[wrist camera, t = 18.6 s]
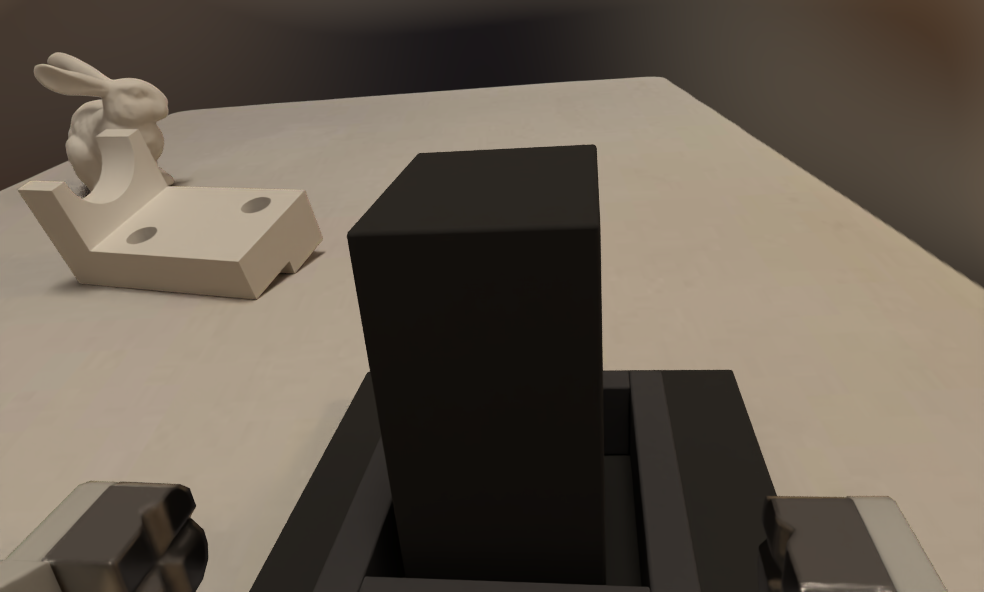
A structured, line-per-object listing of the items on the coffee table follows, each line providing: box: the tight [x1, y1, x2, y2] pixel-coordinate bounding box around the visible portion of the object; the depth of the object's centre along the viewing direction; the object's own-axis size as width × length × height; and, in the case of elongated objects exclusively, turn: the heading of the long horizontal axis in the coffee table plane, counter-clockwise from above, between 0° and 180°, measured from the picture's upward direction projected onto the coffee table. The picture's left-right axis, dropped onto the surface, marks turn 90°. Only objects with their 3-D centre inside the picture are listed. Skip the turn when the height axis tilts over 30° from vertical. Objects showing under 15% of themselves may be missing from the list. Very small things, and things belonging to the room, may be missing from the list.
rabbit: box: [34, 53, 174, 192], centre depth 62 cm, size 12×9×12 cm
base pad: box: [249, 370, 777, 592], centre depth 19 cm, size 14×18×4 cm
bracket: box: [18, 129, 323, 300], centre depth 42 cm, size 13×7×8 cm, turn 70°
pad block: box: [347, 145, 606, 585], centre depth 17 cm, size 4×6×10 cm
